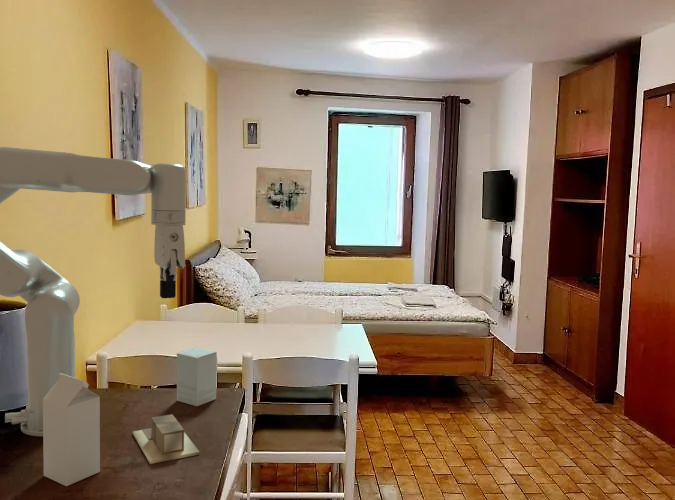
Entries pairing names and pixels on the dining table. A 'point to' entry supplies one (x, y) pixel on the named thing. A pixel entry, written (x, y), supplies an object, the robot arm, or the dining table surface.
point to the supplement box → (196, 376)
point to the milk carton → (71, 431)
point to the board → (153, 452)
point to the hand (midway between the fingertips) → (167, 297)
